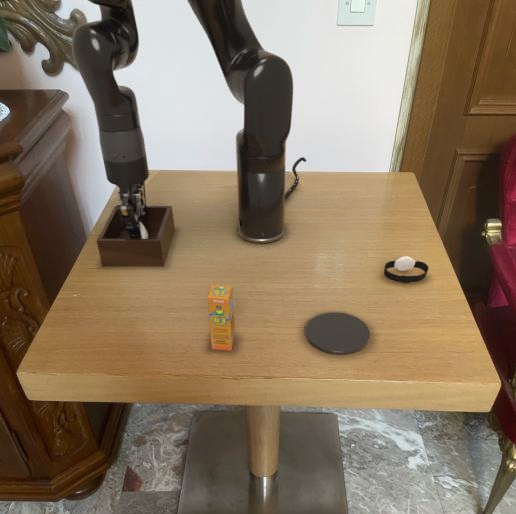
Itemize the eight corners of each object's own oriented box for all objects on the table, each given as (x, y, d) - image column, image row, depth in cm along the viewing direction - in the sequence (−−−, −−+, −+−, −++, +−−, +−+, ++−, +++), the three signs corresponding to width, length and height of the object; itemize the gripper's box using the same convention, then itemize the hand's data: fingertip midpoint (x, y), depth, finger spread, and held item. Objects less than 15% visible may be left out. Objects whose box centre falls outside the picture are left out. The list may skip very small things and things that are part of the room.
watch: (423, 270, 96) (427, 253, 94) (428, 284, 93) (433, 266, 90) (381, 270, 96) (383, 252, 94) (385, 284, 93) (388, 266, 91)
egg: (129, 250, 102) (124, 224, 99) (131, 241, 105) (127, 215, 102) (148, 249, 102) (144, 224, 99) (150, 240, 105) (146, 215, 102)
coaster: (314, 310, 87) (314, 307, 87) (374, 321, 84) (374, 318, 84) (297, 347, 80) (297, 344, 79) (363, 360, 77) (363, 357, 77)
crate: (119, 229, 110) (114, 205, 106) (174, 229, 109) (171, 205, 106) (102, 266, 98) (96, 240, 95) (163, 266, 98) (160, 240, 95)
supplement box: (210, 351, 79) (205, 296, 73) (215, 336, 82) (210, 282, 75) (232, 352, 79) (229, 297, 72) (236, 338, 82) (233, 284, 75)
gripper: (137, 167, 86) (151, 258, 97) (152, 138, 97) (163, 223, 108) (92, 168, 87) (111, 258, 98) (112, 139, 98) (127, 223, 109)
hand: (139, 239), depth 103 cm, fingers closed on egg, 3 cm apart
